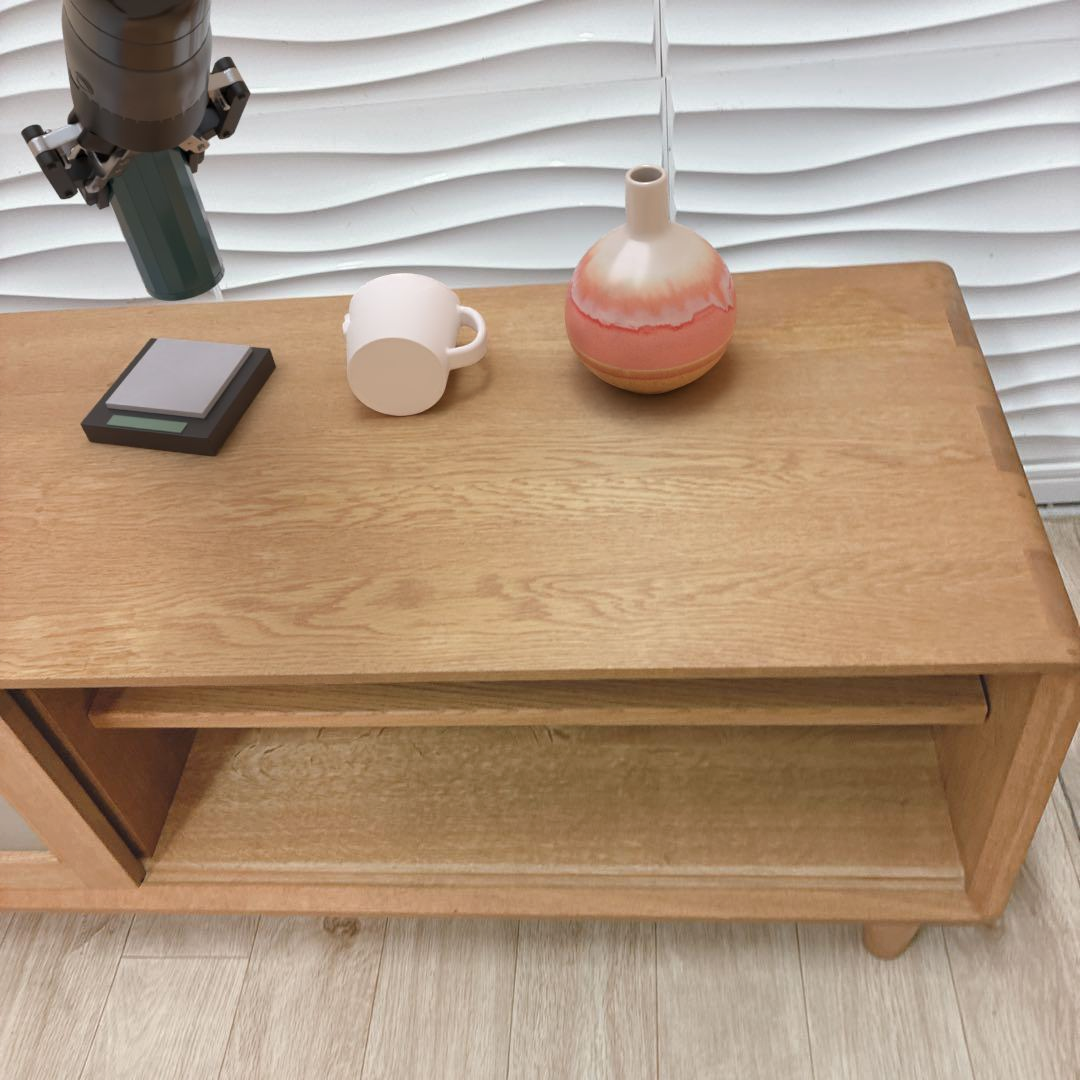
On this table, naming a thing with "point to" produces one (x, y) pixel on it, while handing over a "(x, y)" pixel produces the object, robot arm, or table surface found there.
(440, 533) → the table surface
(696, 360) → the vase
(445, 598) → the table surface
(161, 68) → the robot arm
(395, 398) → the mug
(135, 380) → the scale
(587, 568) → the table surface
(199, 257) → the cup
